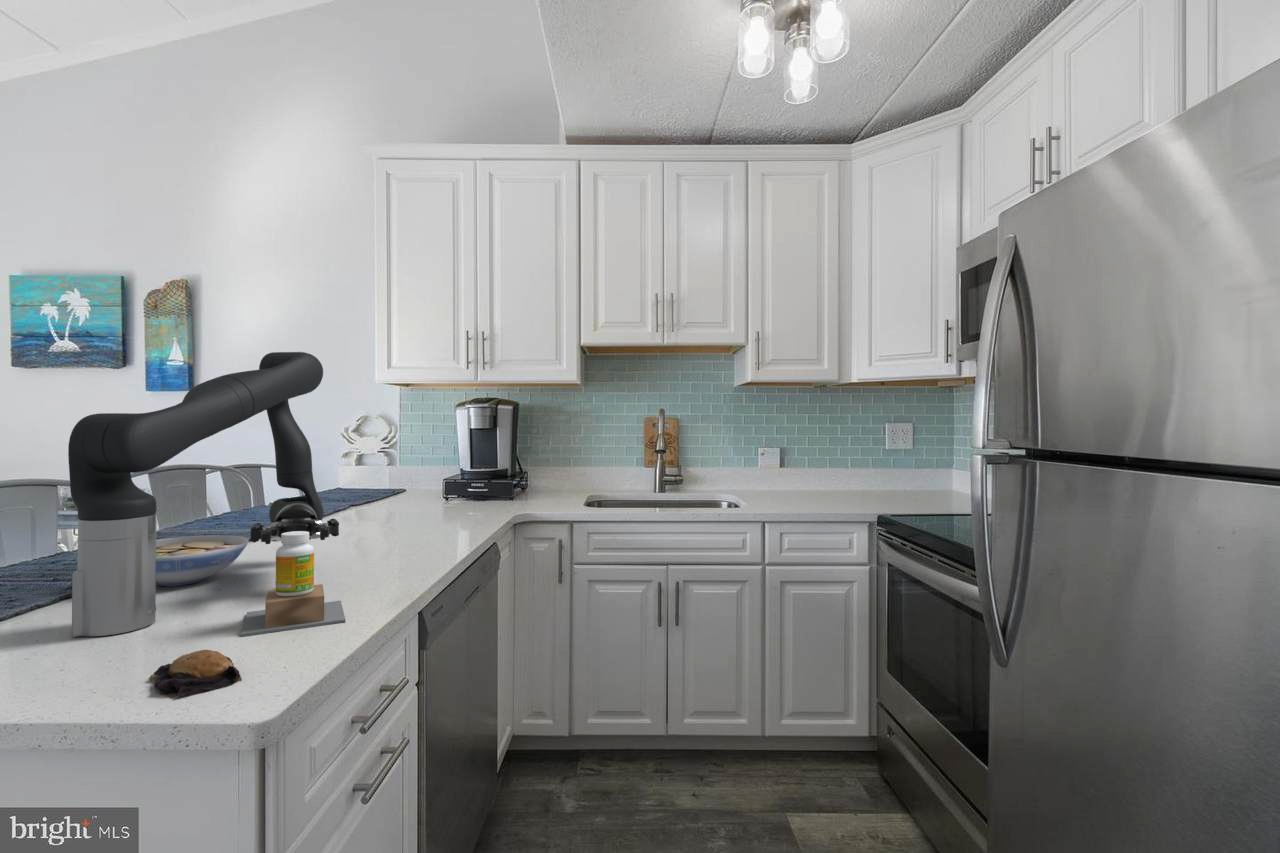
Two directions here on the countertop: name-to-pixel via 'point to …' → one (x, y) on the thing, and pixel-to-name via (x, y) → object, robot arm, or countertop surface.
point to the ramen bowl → (195, 557)
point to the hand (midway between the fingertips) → (296, 536)
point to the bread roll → (195, 674)
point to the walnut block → (294, 608)
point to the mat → (257, 625)
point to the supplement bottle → (294, 565)
